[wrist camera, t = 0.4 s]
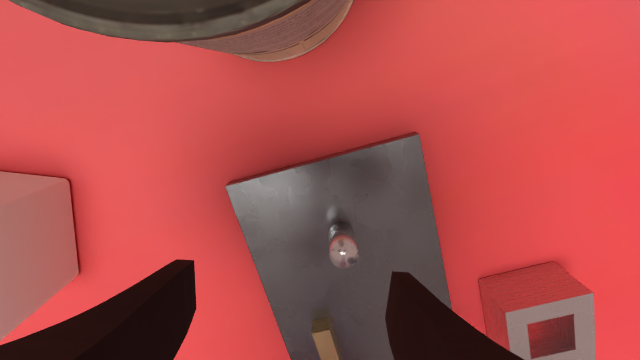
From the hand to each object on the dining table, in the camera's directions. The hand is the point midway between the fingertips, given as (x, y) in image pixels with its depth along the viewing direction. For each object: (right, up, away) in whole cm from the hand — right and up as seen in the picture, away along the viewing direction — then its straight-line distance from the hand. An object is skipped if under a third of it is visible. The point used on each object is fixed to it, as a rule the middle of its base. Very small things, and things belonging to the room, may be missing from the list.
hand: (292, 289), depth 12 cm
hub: (+15, -5, +12) cm, 20 cm away
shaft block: (+3, -2, +11) cm, 12 cm away
